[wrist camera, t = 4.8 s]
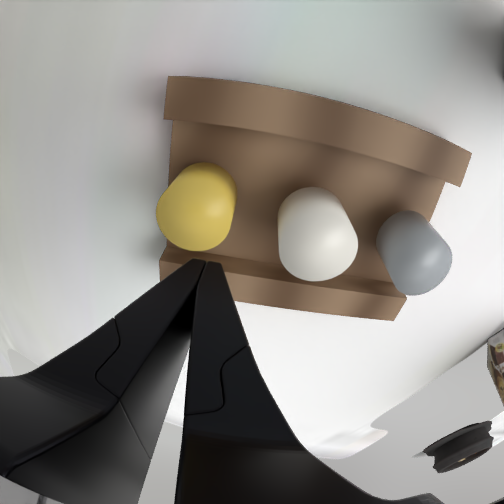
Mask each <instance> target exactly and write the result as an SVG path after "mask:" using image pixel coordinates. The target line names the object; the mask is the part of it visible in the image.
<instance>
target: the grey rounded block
mask: <svg viewBox="0 0 504 504" xmlns="http://www.w3.org/2000/svg"><path fill="white" fill-rule="evenodd" d="M376 247H377V250H378V253H379V255H380V257H381V259H382V261H383V263H384V265H385V267H386V269H387V271H388V273H389V275H390V277H391V279H392V281H393V283H394V285H395V287H396V288H397V290H399V291H400V292H401V293H403V294H406V295H420V294H424V293H426V292H428V291H430V290H432V289H434V288H435V287H436V286H438V285H439V284H440V283H441V282H442V281H443V279H444V278H445V277H446V275H447V274H448V272H449V270H450V267H451V263H452V252H451V249H450V247H449V246H448V244H447V243H446V242H445V241H444V240H443V238H442V237H441V236H440V235H439V234H438V232H437V231H436V230H435V229H434V228H433V227H432V225H431V224H430V223H429V222H428V221H427V220H426V219H425V217H424V216H423V215H421V214H420V213H418V212H416V211H411V210H406V211H401V212H398V213H396V214H394V215H392V216H391V217H389V218H388V219H387V220H386V221H385V222H384V223H383V225H382V226H381V228H380V229H379V232H378V234H377V238H376Z"/></svg>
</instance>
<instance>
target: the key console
mask: <svg viewBox="0 0 504 504" xmlns="http://www.w3.org/2000/svg"><path fill="white" fill-rule="evenodd" d="M164 119H166V120H173V126H172V137H171V150H170V165H169V183H168V187H169V186H170V185H171V183H172V182H173V181H174V180H175V179H176V177H177V176H178V175H179V174H180V173H181V172H182V171H183V170H184V169H185V168H186V167H188V166H190V165H192V164H195V163H201V162H207V163H213V164H216V165H218V166H220V167H222V168H223V169H225V170H226V171H227V172H228V173H229V174H230V175H231V176H232V178H233V179H234V181H235V183H236V186H237V192H238V196H237V202H236V206H235V210H234V214H233V218H232V222H231V226H230V230H229V233H228V234H227V236H226V238H225V239H224V240H223V241H222V242H221V243H220V244H219V245H217V246H215V247H214V248H211V249H209V250H204V251H190V250H186V249H183V248H180V247H178V246H176V245H175V244H173V243H172V242H171V241H169V240H168V239H167V247H166V249H165V250H164V252H163V254H162V256H161V258H160V260H159V269H160V281H162V280H163V279H164V278H166V277H167V276H168V275H170V274H171V273H172V272H174V271H175V270H177V269H178V268H179V267H181V266H182V265H183V264H185V263H186V262H187V261H189V260H190V259H192V258H198V259H203V260H206V262H207V261H215V262H220V263H221V264H222V267H223V270H224V273H225V276H226V279H227V282H228V285H229V288H230V291H231V294H232V297H233V299H234V301H238V302H245V303H251V304H258V305H264V306H271V307H278V308H285V309H293V310H300V311H308V312H316V313H324V314H332V315H341V316H349V317H359V318H368V319H378V320H389V321H394V319H395V318H396V316H397V315H398V313H399V311H400V310H401V308H402V306H403V305H404V303H405V301H406V300H407V297H406V295H405V294H403V293H401V292H400V291H399V290H397V288H396V287H395V285H394V283H393V281H392V279H391V277H390V275H389V273H388V271H387V269H386V267H385V265H384V263H383V261H382V259H381V257H380V255H379V253H378V250H377V247H376V238H377V234H378V232H379V229H380V228H381V226H382V225H383V223H384V222H385V221H386V220H387V219H388V218H389V217H391V216H392V215H394V214H396V213H398V212H401V211H406V210H411V211H416V212H418V213H420V214H421V215H423V216H424V217H425V219H426V220H427V221H428V222H429V221H430V219H431V217H432V214H433V212H434V210H435V207H436V205H437V202H438V200H439V197H440V194H441V192H442V189H443V186H444V184H445V181H446V182H448V183H451V184H453V185H456V186H458V187H460V186H461V184H462V181H463V178H464V175H465V173H466V170H467V167H468V164H469V161H470V158H471V155H472V153H470V152H469V151H467V150H465V149H463V148H461V147H459V146H457V145H455V144H453V143H451V142H449V141H447V140H445V139H443V138H441V137H438V136H436V135H434V134H431V133H429V132H427V131H424V130H422V129H419V128H417V127H414V126H412V125H409V124H407V123H404V122H401V121H399V120H396V119H393V118H390V117H387V116H384V115H382V114H379V113H376V112H372V111H369V110H366V109H363V108H360V107H356V106H353V105H350V104H346V103H343V102H339V101H335V100H331V99H328V98H324V97H320V96H316V95H311V94H307V93H302V92H298V91H293V90H288V89H283V88H278V87H272V86H267V85H260V84H254V83H247V82H240V81H232V80H224V79H214V78H203V77H190V76H168V81H167V90H166V99H165V109H164ZM306 187H319V188H323V189H325V190H328V191H330V192H331V193H333V194H334V195H335V196H336V197H337V198H338V199H339V201H340V202H341V204H342V206H343V208H344V210H345V212H346V214H347V216H348V218H349V220H350V222H351V224H352V226H353V229H354V231H355V233H356V235H357V239H358V250H357V254H356V257H355V259H354V261H353V262H352V264H351V265H350V266H349V267H348V268H347V269H346V270H345V271H344V272H343V273H341V274H340V275H338V276H336V277H334V278H331V279H328V280H324V281H307V280H303V279H300V278H297V277H295V276H294V275H292V274H291V273H290V272H288V271H287V269H286V268H285V267H284V266H283V264H282V262H281V259H280V256H279V242H278V211H279V208H280V206H281V204H282V203H283V201H284V200H285V199H286V198H287V197H288V196H289V195H290V194H291V193H293V192H295V191H297V190H299V189H302V188H306Z"/></svg>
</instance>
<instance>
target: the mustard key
mask: <svg viewBox="0 0 504 504" xmlns="http://www.w3.org/2000/svg"><path fill="white" fill-rule="evenodd" d="M237 196H238V192H237V186H236V183H235V181H234V179H233V178H232V176H231V175H230V174H229V173H228V172H227V171H226V170H225V169H223V168H222V167H220V166H218V165H216V164H213V163H207V162H201V163H195V164H192V165H190V166H188V167H186V168H185V169H184V170H183V171H182V172H181V173H180V174H179V175H178V176H177V177H176V179H175V180H174V181H173V182H172V183H171V185H170V186H169V187H168V188H167V189H166V191H165V192H164V193H163V194H162V196H161V197H160V199H159V201H158V204H157V208H156V218H157V223H158V225H159V228H160V230H161V231H162V233H163V234H164V236H165V237H166V238H167V239H168V240H169V241H171V242H172V243H173V244H175V245H176V246H178V247H180V248H183V249H186V250H190V251H204V250H209V249H211V248H214V247H215V246H217V245H219V244H220V243H221V242H222V241H223V240H224V239H225V238H226V236H227V234H228V233H229V230H230V226H231V222H232V218H233V214H234V210H235V206H236V202H237Z"/></svg>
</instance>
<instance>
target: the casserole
mask: <svg viewBox="0 0 504 504" xmlns="http://www.w3.org/2000/svg"><path fill="white" fill-rule="evenodd" d="M491 424H492V421H486V422H482V423H476V424H472V425H469V426H466V427H464V428H462V429H459V430H457V431H455V432H453V433H451V434H449V435H447V436H445V437H443V438H441V439H440V440H438V441H436V442H434V443H433V444H431V445H430V446H428V447H427V448H425V449H424V451H423V452H424V453H426V454H427V455H428V456H435V464H434V466H433V468H434V469H436V470H437V472H438V473H443V472H447V471H450V470H453V469H455V468H458V467H460V466H462V465H465V464H467V463H468V462H471V461H473V460H474V459H476V458H478V457H480V456H481V455H483V454H484V453H486V452H487V451H488V450H489V449H490V448H491V447H492V441H493V439H494V438H493V437H492V436H490V434H489V433H488V432H489V431H490V430H491Z"/></svg>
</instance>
